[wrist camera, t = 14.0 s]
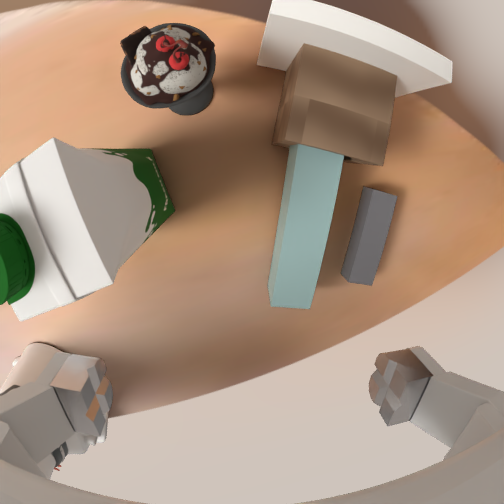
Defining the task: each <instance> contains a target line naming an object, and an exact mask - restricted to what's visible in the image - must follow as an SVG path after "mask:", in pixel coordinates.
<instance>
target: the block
mask: <svg viewBox="0 0 504 504" xmlns="http://www.w3.org/2000/svg"><path fill="white" fill-rule="evenodd" d="M396 83H397V75H395V74H392V73H390V72H388V71H385V70H383V69H380V68H378V67H375V66H373V65H370V64H368V63H365V62H362V61H360V60H357V59H354V58H351V57H348V56H345V55H342V54H339V53H336V52H333V51H330V50H327V49H323V48H320V47H316V46H313V45H309V44H305V43H304V44H303V45H302V47H301V48H300V50H299V51H298V53H297V54H296V56H295V58H294V59H293V61H292V62H291V64H290V66H289V67H288V69H287V70H286V75H285V80H284V85H283V90H282V95H281V100H280V105H279V110H278V115H277V120H276V125H275V130H274V136H273V141H272V144H273V145H278V146H282V147H287V148H290V145H296V144H301V145H305V146H309V147H313V148H317V149H321V150H325V151H329V152H333V153H336V154H340V155H344V159H343V161H344V162H347V163H358V164H368V165H377V166H383V164H384V159H385V153H386V148H387V143H388V137H389V131H390V125H391V119H392V113H393V106H394V99H395V91H396Z"/></svg>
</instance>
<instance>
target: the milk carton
mask: <svg viewBox="0 0 504 504" xmlns="http://www.w3.org/2000/svg"><path fill="white" fill-rule="evenodd" d="M174 212H175V208H174V206H173V203H172V201H171V199H170V196H169V194H168V191H167V189H166V186H165V184H164V181H163V179H162V176H161V174H160V171H159V169H158V166H157V163H156V161H155V158H154V156H153V153H152V150H151V149H87V148H82V149H77V148H75V147H73V146H71V145H69V144H67V143H64V142H62V141H60V140H58V139H56V138H52V139H50V140H49V141H47V142H46V143H45V144H43V145H42V146H40V147H39V148H38V149H36V150H35V151H34V152H33V153H31V154H30V155H29V156H27V157H25V158H23V159H21V160H20V161H18V162H17V163H15V164H14V165H13V166H11V167H10V168H9V169H8V170H7V171H6V172H5V174H4V175H2V176H1V177H0V305H2V304H3V303H5V302H6V301H7V302H8V304H9V305H10V304H11V306H12V308H13V310H14V312H15V314H16V315H17V317H18V319H19V320H20V321H24V320H27V319H29V318H32V317H35V316H37V315H40V314H42V313H45V312H48V311H50V310H53V309H55V308H58V307H60V306H65V305H68V304H70V303H73V302H75V301H77V300H80V299H82V298H84V297H86V296H88V295H90V294H92V293H94V292H95V291H97V290H99V289H102V288H104V287H107V286H109V285H111V284H113V283H114V280H115V277H116V274H117V271H118V269H119V268H120V267H121V266H122V265H123V264H124V263H125V262H126V261H127V260H128V259H129V257H130V256H131V255H132V254H133V253H134V252H135V251H136V250H137V249H138V248H139V247H140V246H141V245H142V244H143V243H144V242H145V241H146V240H147V239H148V238H149V237H150V236H151V235H152V234H153V233H154V232H155V231H156V230H157V229H158V228H159V227H160V226H161V225H162V224H163V223H164V222H165V221H166V219H167V218H168V217H169V216H170V215H171V214H172V213H174Z"/></svg>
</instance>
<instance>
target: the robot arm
mask: <svg viewBox="0 0 504 504" xmlns="http://www.w3.org/2000/svg"><path fill="white" fill-rule="evenodd" d="M12 365H13V369H12V370H11V372H10V374H9V375H8V377H7V379H6V380H5V382H4V384H3V385H2V387H1V389H0V504H146V503H139V502H133V501H128V500H122V499H117V498H112V497H108V496H103V495H99V494H95V493H91V492H88V491H84V490H80V489H77V488H73V487H70V486H67V485H64V484H61V483H57V482H55V481H52V480H50V477H51V475H52V472H53V469H55V470H58V471H59V469H57V468H55V467H57V466H58V467H61V465H59V464H60V463H61V462H63V460H64V459H65V457H66V455H67V454H83V453H85V452H86V451H87V449H88V447H89V445H90V444H91V445H95V444H96V443H103V442H104V441H105V439H106V434H107V422H108V412H109V410H110V408H111V405H112V398H113V392H112V386H111V382H110V381H109V380H108V379H107V378H106V377H105V376H104V375H105V372H106V370H107V369H106V366H105V363H104V360H102V359H101V358H96V357H89V356H83V355H77V354H70V353H64V352H62V351H60V350H58V349H56V348H54V347H52V346H50V345H47V344H42V343H33V344H30V345H28V346H27V347H26V348H25V349H24V351H23V353H22V355H21V356H20V357H17V358H15V360H14V361H13V363H12ZM375 366H376V368H377V370H376V371H375V372H374V373H373V374H372V375H371V378H370V381H369V393H370V396H371V399H372V401H373V402H374V403H375V404H377V405H379V406H381V408H380V411H379V413H380V414H381V416H382V418H383V419H384V421H385V423H386V424H387V426H390V425H395V424H399V423H403V422H407V421H410V422H411V423H413V424H414V425H416V426H417V427H419V428H420V429H422V430H423V431H425V432H427V433H428V434H430V435H431V436H433V437H435V438H436V439H437V440H439V441H441V442H442V443H444V444H446V445H447V446H449V447H451V449H450V451H449V452H448V453H447V454H446V456H445V458H444V460H443V461H442V462H439V463H437V464H434V465H432V466H430V467H428V468H425V469H423V470H420V471H418V472H415V473H413V474H410V475H407V476H405V477H402V478H399V479H396V480H393V481H390V482H387V483H384V484H381V485H378V486H375V487H371V488H367V489H364V490H360V491H357V492H352V493H348V494H344V495H340V496H335V497H331V498H326V499H321V500H315V501H310V502H304V503H297V504H504V392H503V391H500V390H497V389H495V388H492V387H489V386H486V385H484V384H481V383H478V382H476V381H473V380H470V379H468V378H465V377H462V376H460V375H457V374H455V373H452V372H445V370H444V369H443V368H442V367H441V366H440V365H439V364H438V363H437V362H436V361H435V360H434V359H433V358H432V357H431V356H430V355H429V354H428V353H427V352H426V351H425V350H424V349H423V348H422V347H420V346H416V347H412V348H407V349H405V350H399V351H393V352H387V353H380V354H379V355H378V357H377V358H376V362H375Z"/></svg>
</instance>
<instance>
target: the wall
mask: <svg viewBox="0 0 504 504" xmlns="http://www.w3.org/2000/svg"><path fill="white" fill-rule="evenodd" d="M304 43H305V44H309V45H313V46H316V47H320V48H323V49H327V50H330V51H333V52H336V53H339V54H342V55H345V56H348V57H351V58H354V59H357V60H360V61H362V62H365V63H368V64H370V65H373V66H375V67H378V68H380V69H383V70H385V71H388V72H390V73H392V74H395V75H397V83H396V91H395V98H396V97H399V96H403V95H406V94H410V93H414V92H417V91H421V90H425V89H429V88H432V87H436V86H441V85H445V84H449V83H452V61H451V60H449V59H447V58H446V57H444V56H442V55H440V54H439V53H437V52H436V51H434V50H432V49H430V48H428V47H427V46H425V45H423V44H421V43H419V42H417V41H415V40H413V39H411V38H409V37H407V36H405V35H403V34H401V33H399V32H397V31H395V30H393V29H390V28H388V27H386V26H383V25H381V24H379V23H376V22H374V21H372V20H369V19H367V18H364V17H361V16H358V15H356V14H353V13H350V12H347V11H345V10H342V9H339V8H336V7H333V6H330V5H326V4H323V3H320V2H316V1H312V0H273V1H272V4H271V8H270V12H269V16H268V19H267V23H266V27H265V31H264V35H263V39H262V43H261V47H260V51H259V56H258V60H257V65H259V66H264V67H269V68H274V69H279V70H283V71H286V70H287V69H288V67H289V66H290V64H291V62H292V61H293V59H294V58H295V56H296V54H297V53H298V51H299V50H300V48H301V47H302V45H303V44H304Z"/></svg>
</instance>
